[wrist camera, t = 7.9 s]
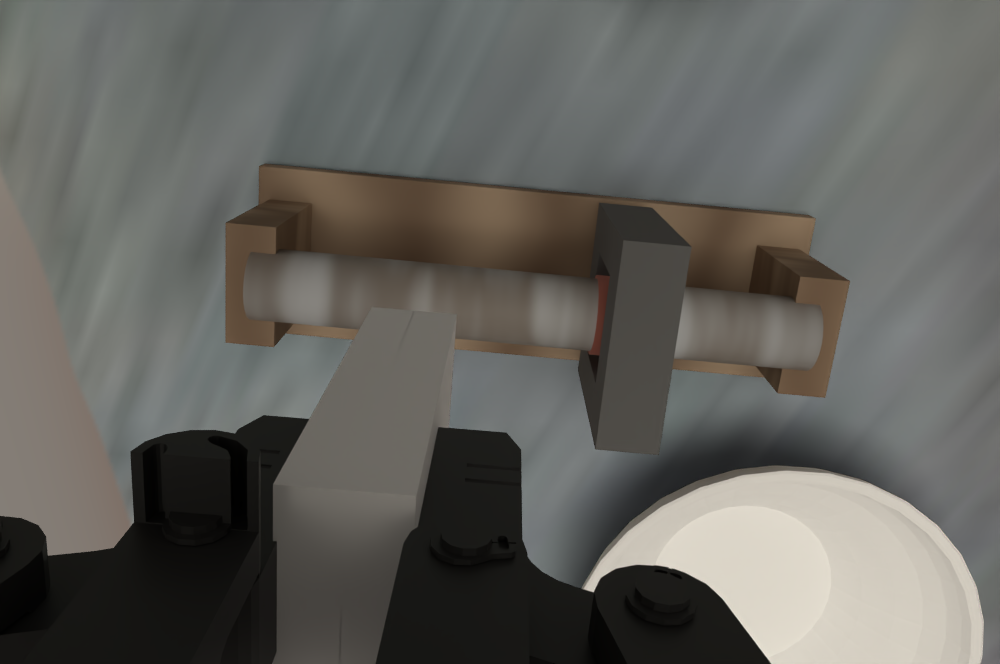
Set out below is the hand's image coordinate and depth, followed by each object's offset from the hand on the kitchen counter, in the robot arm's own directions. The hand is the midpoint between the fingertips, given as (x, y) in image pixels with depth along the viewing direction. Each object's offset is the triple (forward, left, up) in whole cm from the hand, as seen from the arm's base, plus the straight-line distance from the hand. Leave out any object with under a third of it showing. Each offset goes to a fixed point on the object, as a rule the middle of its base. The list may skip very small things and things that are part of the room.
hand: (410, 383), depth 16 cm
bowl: (+20, +16, -27) cm, 37 cm away
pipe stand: (+4, +3, -27) cm, 28 cm away
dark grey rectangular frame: (+4, +7, -25) cm, 26 cm away
